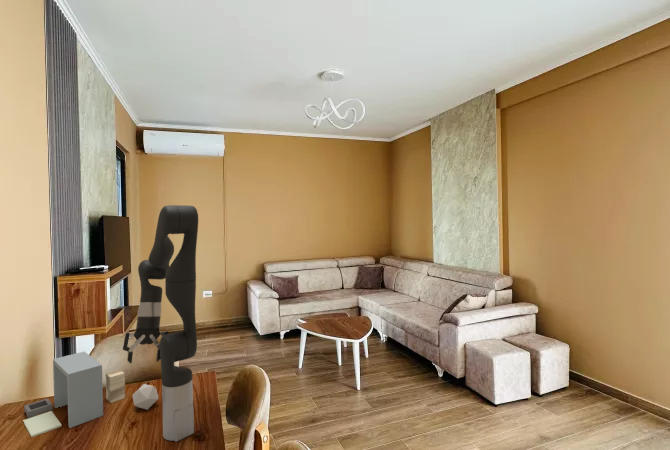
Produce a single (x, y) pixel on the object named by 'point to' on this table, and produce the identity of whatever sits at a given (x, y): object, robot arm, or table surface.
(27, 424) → the pad
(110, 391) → the birch block
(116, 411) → the table surface
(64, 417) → the table surface
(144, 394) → the die
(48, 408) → the trap pit
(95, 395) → the grey tunnel
